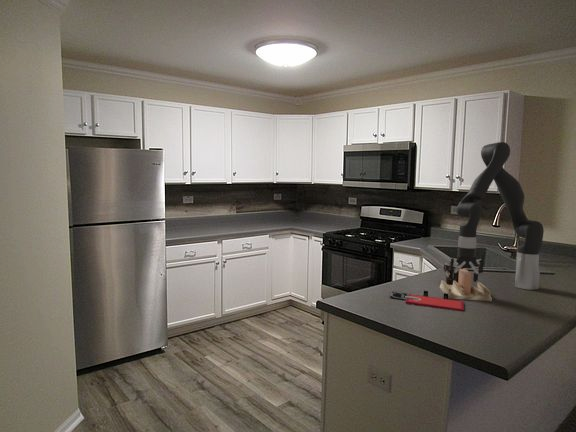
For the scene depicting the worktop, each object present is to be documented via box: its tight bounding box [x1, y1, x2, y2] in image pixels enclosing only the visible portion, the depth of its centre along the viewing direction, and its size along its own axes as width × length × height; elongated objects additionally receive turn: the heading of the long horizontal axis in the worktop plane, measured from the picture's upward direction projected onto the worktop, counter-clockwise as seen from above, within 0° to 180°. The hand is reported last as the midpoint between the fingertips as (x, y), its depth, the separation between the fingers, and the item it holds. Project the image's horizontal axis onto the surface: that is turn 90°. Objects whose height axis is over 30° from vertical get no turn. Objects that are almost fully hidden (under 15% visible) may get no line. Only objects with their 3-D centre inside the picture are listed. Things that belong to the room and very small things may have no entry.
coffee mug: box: [443, 262, 464, 285], centre depth 198 cm, size 12×9×10 cm
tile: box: [458, 268, 473, 294], centre depth 181 cm, size 10×3×9 cm, turn 170°
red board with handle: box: [389, 290, 465, 312], centre depth 170 cm, size 30×3×15 cm
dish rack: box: [439, 279, 493, 302], centre depth 181 cm, size 18×18×4 cm
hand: (465, 280), depth 180 cm, fingers open, 8 cm apart
